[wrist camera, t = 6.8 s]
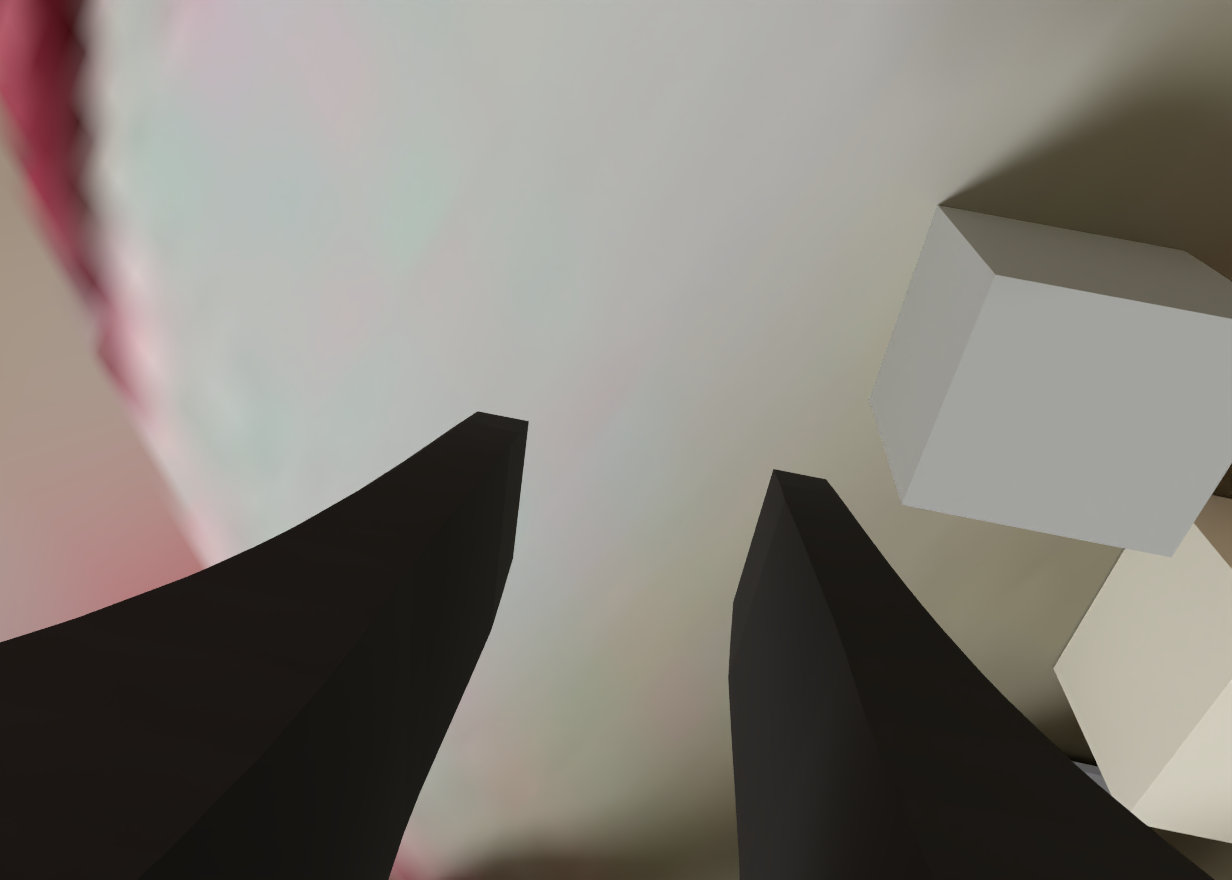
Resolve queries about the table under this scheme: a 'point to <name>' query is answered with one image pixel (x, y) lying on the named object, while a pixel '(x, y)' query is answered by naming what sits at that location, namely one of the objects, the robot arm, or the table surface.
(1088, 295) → the plug
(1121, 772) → the socket housing
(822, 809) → the robot arm
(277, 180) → the table surface
